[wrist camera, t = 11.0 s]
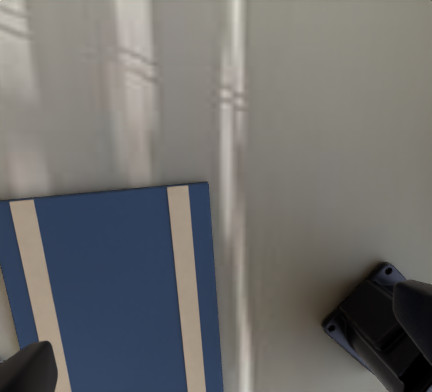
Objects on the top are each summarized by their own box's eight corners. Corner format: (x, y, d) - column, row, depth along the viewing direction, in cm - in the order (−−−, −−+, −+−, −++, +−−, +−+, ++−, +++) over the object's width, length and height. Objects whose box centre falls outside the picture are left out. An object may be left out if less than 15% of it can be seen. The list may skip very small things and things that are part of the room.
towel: (-9, 201, 18) (-16, 204, 17) (207, 181, 19) (208, 183, 19) (60, 504, 22) (57, 515, 22) (228, 468, 24) (229, 478, 23)
